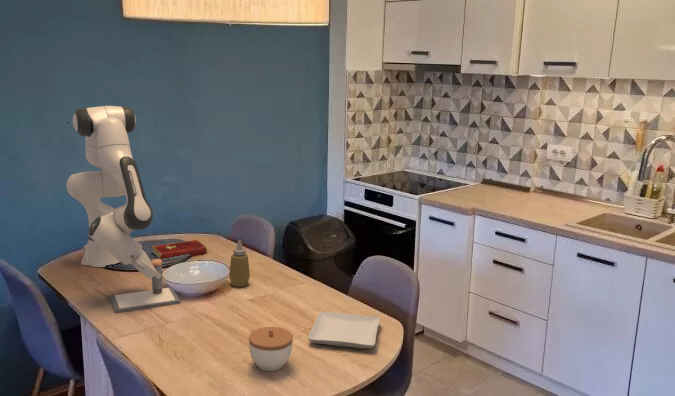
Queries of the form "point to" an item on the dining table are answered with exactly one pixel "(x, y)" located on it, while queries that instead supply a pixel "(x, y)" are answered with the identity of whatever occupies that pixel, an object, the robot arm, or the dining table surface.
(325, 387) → the dining table surface
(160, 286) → the marker
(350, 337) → the salad plate
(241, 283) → the squeeze bottle
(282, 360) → the lidded bowl
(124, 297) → the writing board
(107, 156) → the robot arm
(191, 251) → the hardcover book
